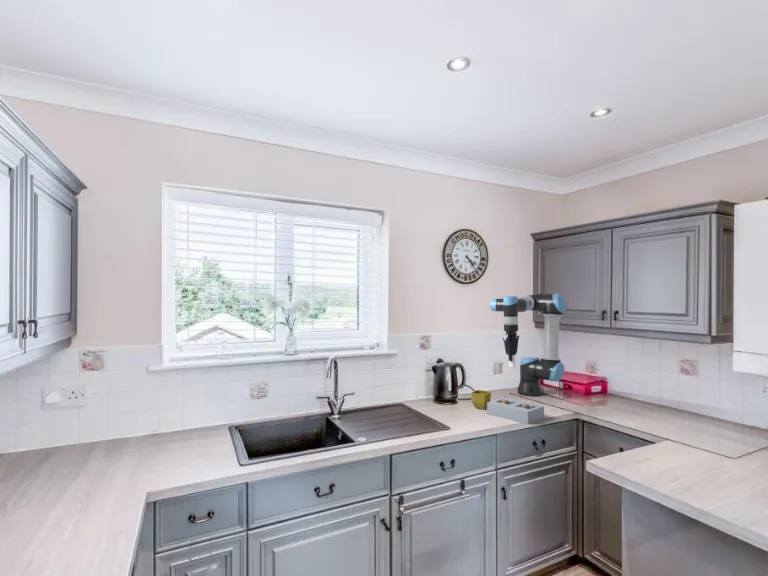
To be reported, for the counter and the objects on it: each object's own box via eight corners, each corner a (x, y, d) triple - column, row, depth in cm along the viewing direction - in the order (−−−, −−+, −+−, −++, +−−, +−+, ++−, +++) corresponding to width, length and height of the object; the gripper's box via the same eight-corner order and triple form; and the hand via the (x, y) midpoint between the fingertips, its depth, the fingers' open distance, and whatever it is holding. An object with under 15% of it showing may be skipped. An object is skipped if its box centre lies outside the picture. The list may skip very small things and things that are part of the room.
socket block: (504, 408, 238) (503, 397, 238) (544, 417, 220) (544, 405, 220) (487, 413, 227) (487, 402, 228) (527, 424, 209) (527, 411, 209)
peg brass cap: (504, 411, 231) (504, 399, 231) (510, 412, 228) (510, 400, 228) (500, 412, 228) (500, 400, 228) (506, 413, 226) (506, 401, 226)
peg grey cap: (524, 415, 222) (524, 403, 222) (530, 417, 219) (530, 405, 219) (520, 417, 219) (520, 404, 219) (526, 418, 217) (526, 406, 217)
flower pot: (485, 411, 233) (485, 394, 233) (470, 408, 238) (470, 392, 238) (491, 407, 240) (491, 391, 240) (477, 405, 245) (477, 389, 245)
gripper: (511, 322, 240) (512, 364, 241) (498, 324, 232) (499, 367, 232) (523, 323, 235) (524, 365, 235) (510, 325, 226) (511, 369, 226)
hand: (511, 366), depth 233 cm, fingers closed
